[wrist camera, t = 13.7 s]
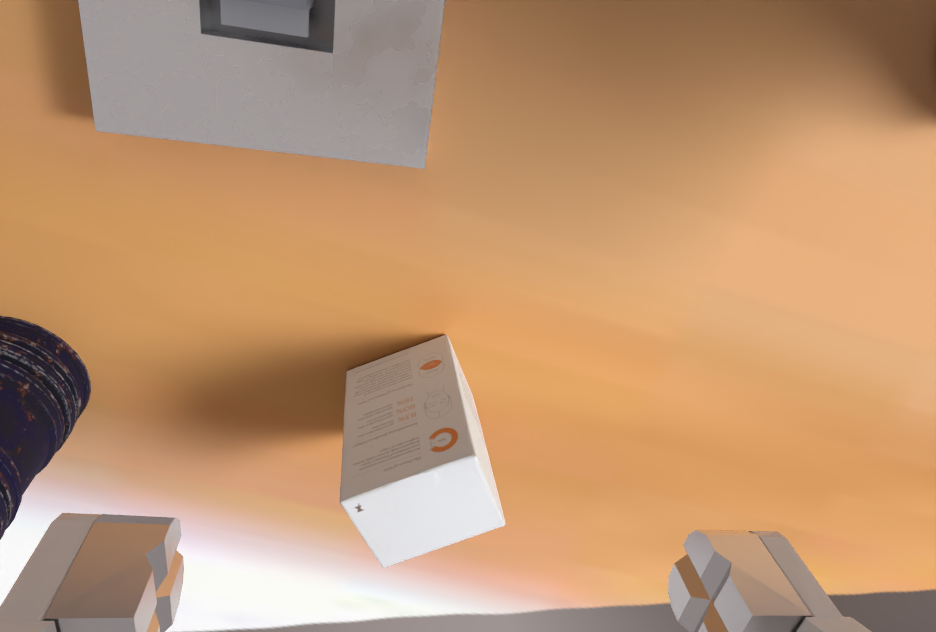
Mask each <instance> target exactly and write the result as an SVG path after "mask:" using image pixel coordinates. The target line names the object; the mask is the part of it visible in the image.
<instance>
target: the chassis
mask: <svg viewBox="0 0 936 632" xmlns="http://www.w3.org/2000/svg"><path fill="white" fill-rule="evenodd" d="M78 3H79V11H80V18H81V26H82V33H83V41H84V48H85V56H86V63H87V71H88V78H89V86H90V94H91V101H92V109H93V116H94V124H95V131H100V132H108V133H117V134H126V135H135V136H143V137H152V138H161V139H169V140H178V141H187V142H196V143H204V144H213V145H222V146H230V147H239V148H248V149H257V150H265V151H274V152H283V153H291V154H300V155H309V156H318V157H326V158H335V159H344V160H352V161H361V162H370V163H379V164H387V165H396V166H405V167H413V168H422V169H425V163H426V155H427V146H428V138H429V130H430V121H431V113H432V105H433V96H434V88H435V80H436V71H437V63H438V55H439V46H440V38H441V30H442V21H443V13H444V5H445V0H315V6H314V7H312V8H310V9H309V37H308V38H307V37H301V36H294V35H288V34H281V33H275V32H268V31H262V30H255V29H249V28H242V27H236V26H229V25H223V24H221V5H220V0H78Z"/></svg>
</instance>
